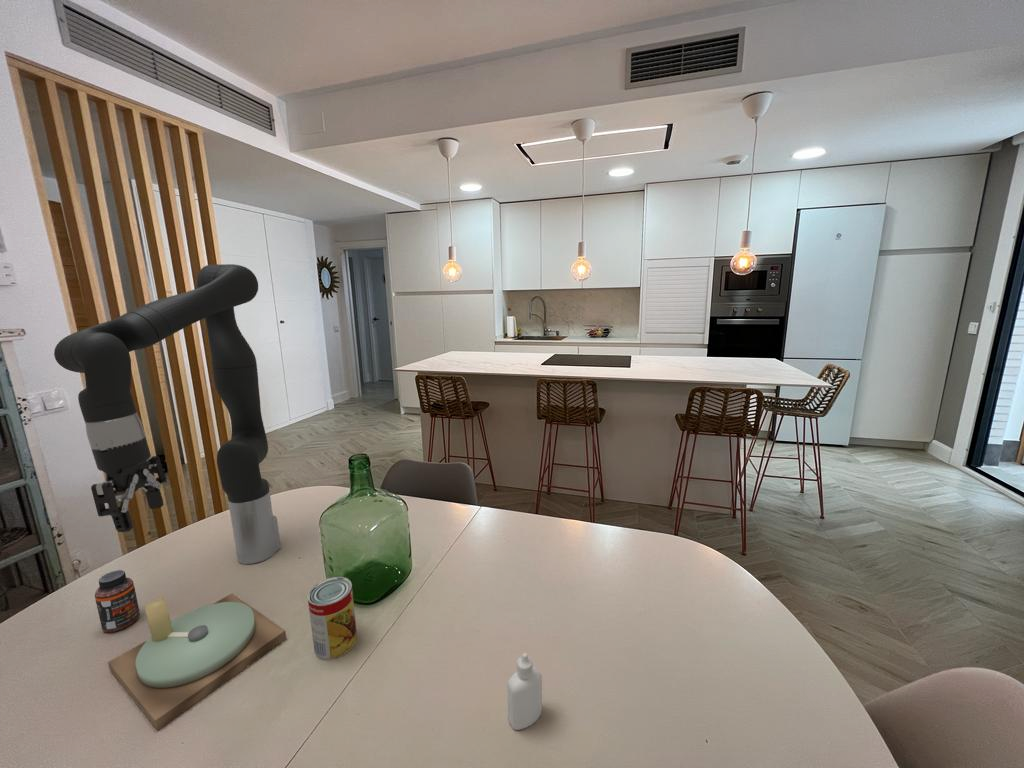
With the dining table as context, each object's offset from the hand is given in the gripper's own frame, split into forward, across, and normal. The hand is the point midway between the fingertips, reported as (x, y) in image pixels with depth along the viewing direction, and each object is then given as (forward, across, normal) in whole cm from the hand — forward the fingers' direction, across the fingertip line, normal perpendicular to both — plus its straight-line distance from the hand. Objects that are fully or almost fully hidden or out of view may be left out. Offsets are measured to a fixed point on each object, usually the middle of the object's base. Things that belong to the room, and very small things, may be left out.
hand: (142, 518), depth 80 cm
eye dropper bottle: (+30, +30, +68) cm, 80 cm away
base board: (+26, +8, +9) cm, 29 cm away
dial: (+24, +8, +9) cm, 27 cm away
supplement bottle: (+25, -4, -12) cm, 28 cm away
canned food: (+28, +9, +34) cm, 45 cm away
